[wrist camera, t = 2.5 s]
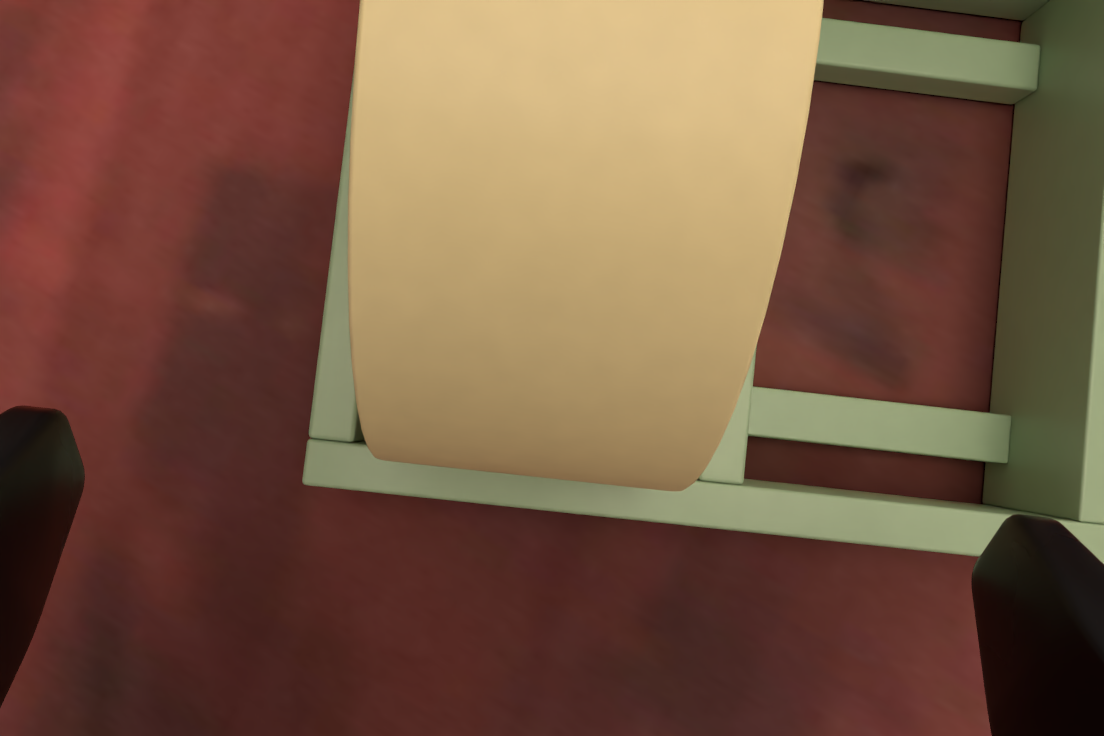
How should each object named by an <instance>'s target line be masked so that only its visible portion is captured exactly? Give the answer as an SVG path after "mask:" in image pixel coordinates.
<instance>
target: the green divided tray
mask: <svg viewBox="0 0 1104 736" xmlns="http://www.w3.org/2000/svg"><path fill="white" fill-rule="evenodd" d="M864 1H872V2H880V3H888V4H895V5H903V6H911V7H919V8H927V9H935V10H943V11H951V12H958V13H966V14H974V15H982V16H990V17H998V18H1006V19H1013V20H1021V21H1023V22H1022V24H1021V36H1020V43H1019V42H1011V41H1003V40H995V39H987V38H979V37H971V36H963V35H956V34H948V33H940V32H932V31H924V30H916V29H908V28H900V27H892V26H884V25H876V24H868V23H861V22H853V21H845V20H837V19H829V18H822V22H821V31H820V40H819V46H818V53H817V60H816V67H815V74H814V80H817V81H825V82H834V83H842V84H850V85H858V86H866V87H874V88H882V89H890V90H898V91H906V92H914V93H922V94H930V95H938V96H947V97H955V98H963V99H971V100H979V101H987V102H995V103H1003V104H1011V105H1012V104H1015V109H1014V121H1013V133H1012V146H1011V158H1010V170H1009V182H1008V194H1007V207H1006V219H1005V231H1004V243H1003V256H1002V268H1001V280H1000V292H999V304H998V317H997V329H996V341H995V353H994V365H993V378H992V390H991V402H990V413H987V412H978V411H969V410H960V409H951V408H942V407H933V406H924V405H915V404H906V403H897V402H888V401H879V400H870V399H861V398H853V397H844V396H835V395H826V394H817V393H808V392H799V391H790V390H781V389H772V388H763V387H754V386H753V378H754V368H755V357H756V348H755V351H754V355H753V358H752V361H751V365H750V368H749V370H748V373H747V376H746V379H745V382H744V385H743V387H742V390H741V393H740V396H739V399H738V401H737V404H736V407H735V410H734V412H733V414H732V416H731V419H730V421H729V423H728V426H727V428H726V430H725V433H724V435H723V437H722V439H721V442H720V444H719V446H718V448H717V449H716V451H715V453H714V455H713V457H712V458H711V460H710V462H709V464H708V466H707V467H706V469H705V470H704V471H703V473H702V474H701V475H700V476H699V478H698V479H697V480H696V481H695V483H694V484H692V485H691V486H689V487H688V488H686V489H685V490H683V491H663V490H653V489H644V488H635V487H625V486H616V485H607V484H598V483H588V482H579V481H570V480H560V479H551V478H542V477H532V476H523V475H514V474H504V473H495V472H486V471H477V470H467V469H458V468H449V467H439V466H430V465H421V464H411V463H402V462H393V461H384V460H380V459H377V458H375V457H374V456H373V455H372V453H371V452H370V450H369V449H368V447H367V444H366V441H365V438H364V435H363V432H362V429H361V424H360V419H359V414H358V409H357V404H356V397H355V389H354V380H353V372H352V361H351V345H350V329H349V303H348V190H349V161H350V133H351V116H352V100H353V83H354V71H353V79H352V87H351V96H350V104H349V112H348V120H347V128H346V136H345V144H344V152H343V160H342V168H341V176H340V184H339V192H338V200H337V208H336V216H335V224H334V232H333V240H332V248H331V256H330V264H329V272H328V280H327V288H326V296H325V305H324V313H323V321H322V329H321V337H320V345H319V353H318V361H317V369H316V377H315V385H314V393H313V401H312V409H311V417H310V425H309V436H310V437H311V438H313V439H309V440H308V442H307V447H306V455H305V463H304V471H303V479H302V481H303V484H305V485H309V486H318V487H328V488H337V489H347V490H356V491H365V492H375V493H384V494H394V495H403V496H412V497H422V498H431V499H441V500H450V501H460V502H469V503H478V504H488V505H497V506H507V507H516V508H525V509H535V510H544V511H554V512H563V513H572V514H582V515H591V516H601V517H610V518H620V519H629V520H638V521H648V522H657V523H667V524H676V525H685V526H695V527H704V528H714V529H723V530H732V531H742V532H751V533H761V534H770V535H779V536H789V537H798V538H808V539H817V540H827V541H836V542H845V543H855V544H864V545H874V546H883V547H892V548H902V549H911V550H921V551H930V552H939V553H949V554H958V555H968V556H977V557H980V555H981V554H982V552H983V551H984V549H985V548H986V546H987V545H988V544H989V542H990V541H991V539H992V538H993V536H994V535H995V533H996V532H997V530H998V529H999V527H1000V526H1001V524H1002V523H1003V522H1004V520H1005V519H1006V518H1008V517H1010V516H1012V515H1015V514H1022V515H1031V516H1040V517H1048V518H1052V519H1055V520H1057V521H1058V522H1060V523H1061V524H1062V525H1064V526H1065V527H1066V528H1067V529H1068V530H1069V531H1070V532H1071V533H1072V534H1073V535H1074V536H1075V537H1076V538H1077V539H1078V540H1079V541H1080V542H1081V543H1082V544H1083V545H1084V546H1086V547H1087V548H1088V549H1089V550H1090V551H1091V552H1092V553H1093V554H1094V555H1095V556H1096V557H1097V558H1098V559H1099V560H1100V561H1101V562H1102V563H1103V564H1104V0H864ZM354 67H355V63H354ZM756 347H757V345H756ZM748 436H753V437H762V438H771V439H780V440H789V441H798V442H807V443H817V444H826V445H835V446H844V447H853V448H862V449H871V450H880V451H889V452H898V453H908V454H917V455H926V456H935V457H944V458H953V459H962V460H971V461H980V462H986V463H985V475H984V488H983V500H982V502H983V504H975V503H966V502H956V501H947V500H938V499H929V498H919V497H910V496H901V495H892V494H882V493H873V492H864V491H855V490H846V489H836V488H827V487H818V486H809V485H799V484H790V483H781V482H772V481H762V480H753V479H744V471H745V461H746V450H747V440H748ZM984 504H985V505H984Z"/></svg>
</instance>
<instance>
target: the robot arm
mask: <svg viewBox="0 0 1104 736" xmlns="http://www.w3.org/2000/svg"><path fill="white" fill-rule="evenodd" d="M84 480H85V473H84V466H83V463H82V460H81V457H80V454H79V451H78V448H77V445H76V442H75V439H74V436H73V433H72V430H71V427H70V424H69V421H68V419H67V417H66V416H65V415H64V414H63V413H62V412H61V411H59V410H56V409H50V408H41V407H32V406H16V407H13V408H10V409H8V410H7V411H5V412H3V413H2V414H0V707H1V705H2V703H3V701H4V699H5V697H6V694H7V692H8V690H9V688H10V686H11V684H12V682H13V680H14V677H15V675H16V673H17V671H18V669H19V667H20V665H21V663H22V661H23V658H24V656H25V654H26V651H27V649H28V647H29V645H30V642H31V640H32V638H33V635H34V633H35V630H36V627H37V624H38V622H39V619H40V616H41V614H42V611H43V608H44V605H45V602H46V599H47V596H48V593H49V590H50V587H51V584H52V581H53V578H54V575H55V572H56V569H57V566H58V563H59V560H60V557H61V554H62V551H63V548H64V546H65V543H66V540H67V537H68V534H69V531H70V528H71V525H72V522H73V519H74V516H75V513H76V510H77V507H78V504H79V501H80V498H81V495H82V492H83V487H84ZM972 594H973V602H974V610H975V617H976V625H977V633H978V640H979V648H980V656H981V664H982V671H983V679H984V687H985V694H986V702H987V710H988V716H989V722H990V728H991V734H992V736H1104V564H1103V563H1102V562H1101V561H1100V560H1099V559H1098V558H1097V557H1096V556H1095V555H1094V554H1093V553H1092V552H1091V551H1090V550H1089V549H1088V548H1087V547H1086V546H1084V545H1083V544H1082V543H1081V542H1080V541H1079V540H1078V539H1077V538H1076V537H1075V536H1074V535H1073V534H1072V533H1071V532H1070V531H1069V530H1068V529H1067V528H1066V527H1065V526H1064V525H1062V524H1061V523H1060V522H1058V521H1057V520H1055V519H1052V518H1048V517H1040V516H1031V515H1022V514H1015V515H1012V516H1010V517H1008V518H1006V519H1005V520H1004V522H1003V523H1002V524H1001V526H1000V527H999V529H998V530H997V532H996V533H995V535H994V536H993V538H992V539H991V541H990V542H989V544H988V545H987V546H986V548H985V549H984V551H983V552H982V554H981V555H980V557H979V558H978V560H977V562H976V563H975V566H974V569H973V573H972Z"/></svg>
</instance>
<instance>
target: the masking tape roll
mask: <svg viewBox="0 0 1104 736" xmlns="http://www.w3.org/2000/svg"><path fill="white" fill-rule="evenodd" d="M823 3H824V0H360V6H359V18H358V29H357V41H356V52H355V67H354V83H353V100H352V116H351V133H350V161H349V190H348V303H349V329H350V345H351V361H352V372H353V380H354V389H355V397H356V404H357V409H358V414H359V419H360V424H361V429H362V432H363V435H364V438H365V441H366V444H367V447H368V449H369V450H370V452H371V453H372V455H373V456H374V457H375V458H377V459H380V460H384V461H393V462H402V463H411V464H421V465H430V466H439V467H449V468H458V469H467V470H477V471H486V472H495V473H504V474H514V475H523V476H532V477H542V478H551V479H560V480H570V481H579V482H588V483H598V484H607V485H616V486H625V487H635V488H644V489H653V490H663V491H683V490H685V489H686V488H688V487H689V486H691V485H692V484H694V483H695V481H696V480H697V479H698V478H699V476H700V475H701V474H702V473H703V471H704V470H705V469H706V467H707V466H708V464H709V462H710V460H711V458H712V457H713V455H714V453H715V451H716V449H717V448H718V446H719V444H720V442H721V439H722V437H723V435H724V433H725V430H726V428H727V426H728V423H729V421H730V419H731V416H732V414H733V412H734V410H735V407H736V404H737V401H738V399H739V396H740V393H741V390H742V387H743V385H744V382H745V379H746V376H747V373H748V370H749V368H750V365H751V361H752V358H753V355H754V351H755V348H756V345H757V341H758V338H759V335H760V331H761V328H762V325H763V321H764V318H765V315H766V311H767V307H768V303H769V299H770V295H771V291H772V287H773V283H774V279H775V275H776V271H777V268H778V264H779V260H780V256H781V252H782V247H783V242H784V238H785V233H786V228H787V224H788V219H789V214H790V210H791V205H792V200H793V196H794V191H795V187H796V181H797V176H798V170H799V165H800V159H801V154H802V148H803V142H804V137H805V131H806V126H807V120H808V115H809V108H810V102H811V95H812V88H813V81H814V74H815V67H816V60H817V53H818V46H819V40H820V31H821V22H822V13H823Z"/></svg>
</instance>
